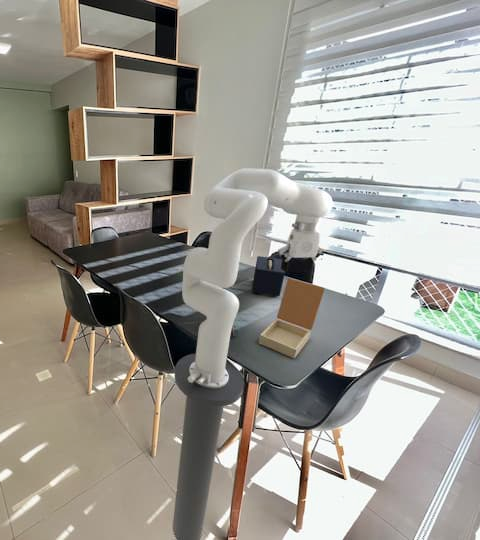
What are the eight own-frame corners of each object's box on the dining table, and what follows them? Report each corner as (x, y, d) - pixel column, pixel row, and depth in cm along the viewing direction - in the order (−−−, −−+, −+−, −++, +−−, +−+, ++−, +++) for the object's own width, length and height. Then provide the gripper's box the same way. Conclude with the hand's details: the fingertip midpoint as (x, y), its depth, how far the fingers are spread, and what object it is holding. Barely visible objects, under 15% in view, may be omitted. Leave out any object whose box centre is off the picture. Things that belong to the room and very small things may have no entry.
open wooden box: (294, 358, 102) (296, 349, 100) (258, 343, 110) (259, 334, 109) (308, 339, 112) (311, 331, 111) (274, 326, 121) (276, 318, 119)
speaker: (253, 279, 166) (257, 254, 161) (278, 283, 161) (283, 257, 155) (251, 294, 148) (256, 267, 143) (279, 299, 143) (285, 271, 137)
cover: (324, 287, 106) (325, 287, 106) (288, 278, 114) (288, 277, 115) (311, 330, 110) (311, 330, 111) (276, 318, 119) (277, 317, 119)
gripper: (290, 229, 100) (280, 274, 107) (336, 228, 102) (324, 272, 108) (277, 224, 107) (268, 267, 114) (321, 223, 109) (310, 265, 115)
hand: (295, 269), depth 111 cm, fingers open, 9 cm apart
